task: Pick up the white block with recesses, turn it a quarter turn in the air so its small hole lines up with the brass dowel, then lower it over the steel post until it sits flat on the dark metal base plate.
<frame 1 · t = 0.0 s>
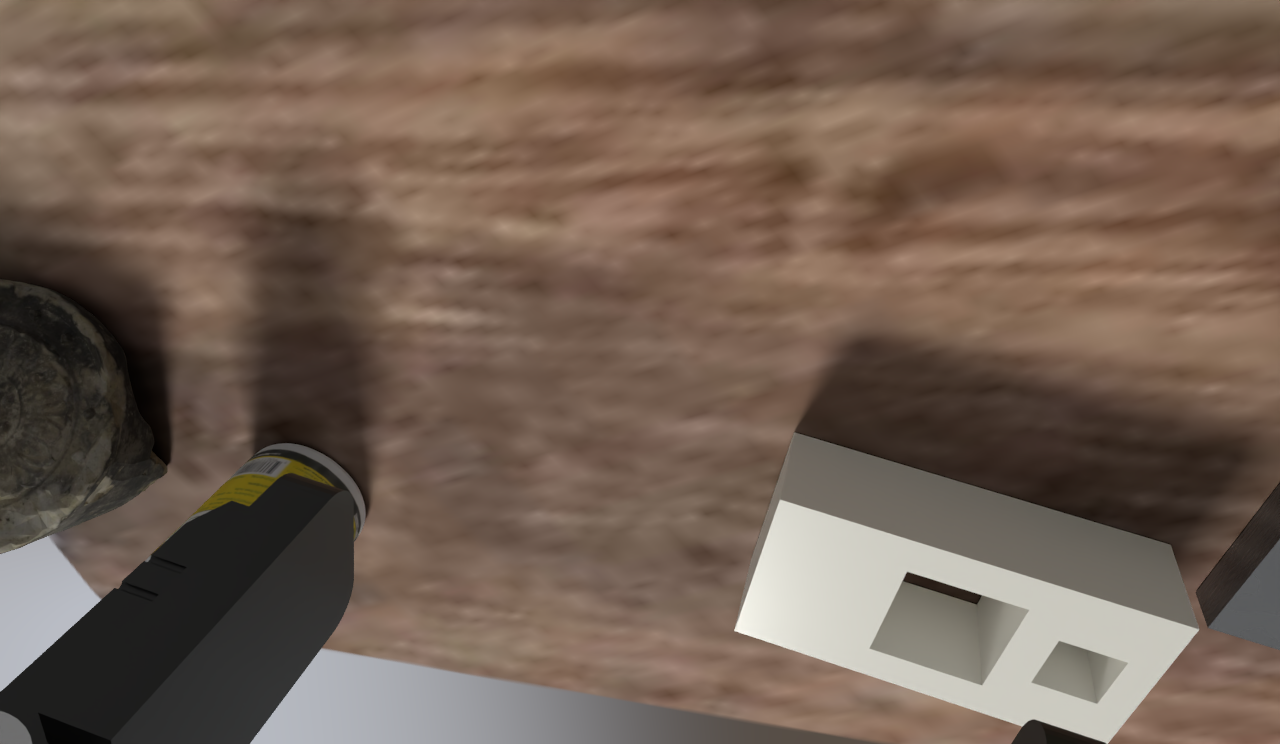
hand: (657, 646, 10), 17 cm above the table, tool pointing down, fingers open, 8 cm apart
supplement bottle: (315, 488, 37), on the table
fossil: (80, 373, 38), on the table
white block with recesses: (943, 552, 30), on the table
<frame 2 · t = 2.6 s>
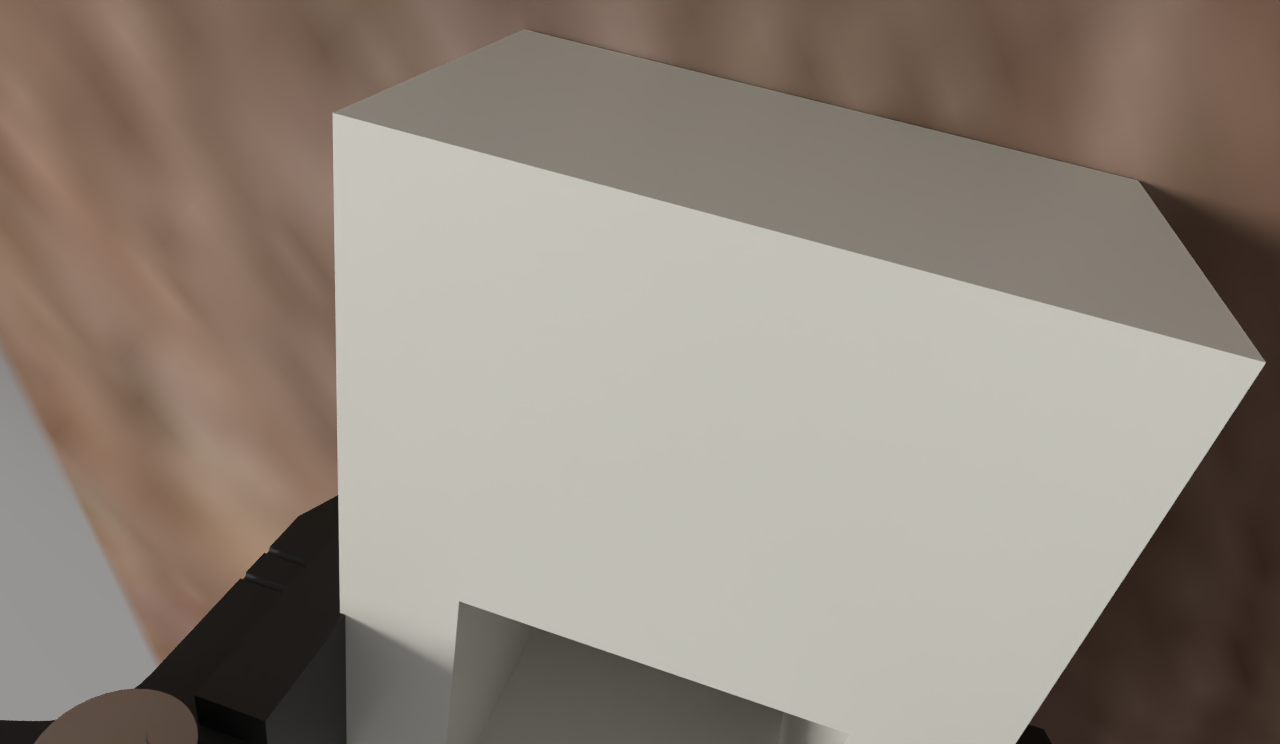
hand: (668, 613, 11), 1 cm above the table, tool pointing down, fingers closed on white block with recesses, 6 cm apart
white block with recesses: (690, 552, 12), on the table, touching gripper
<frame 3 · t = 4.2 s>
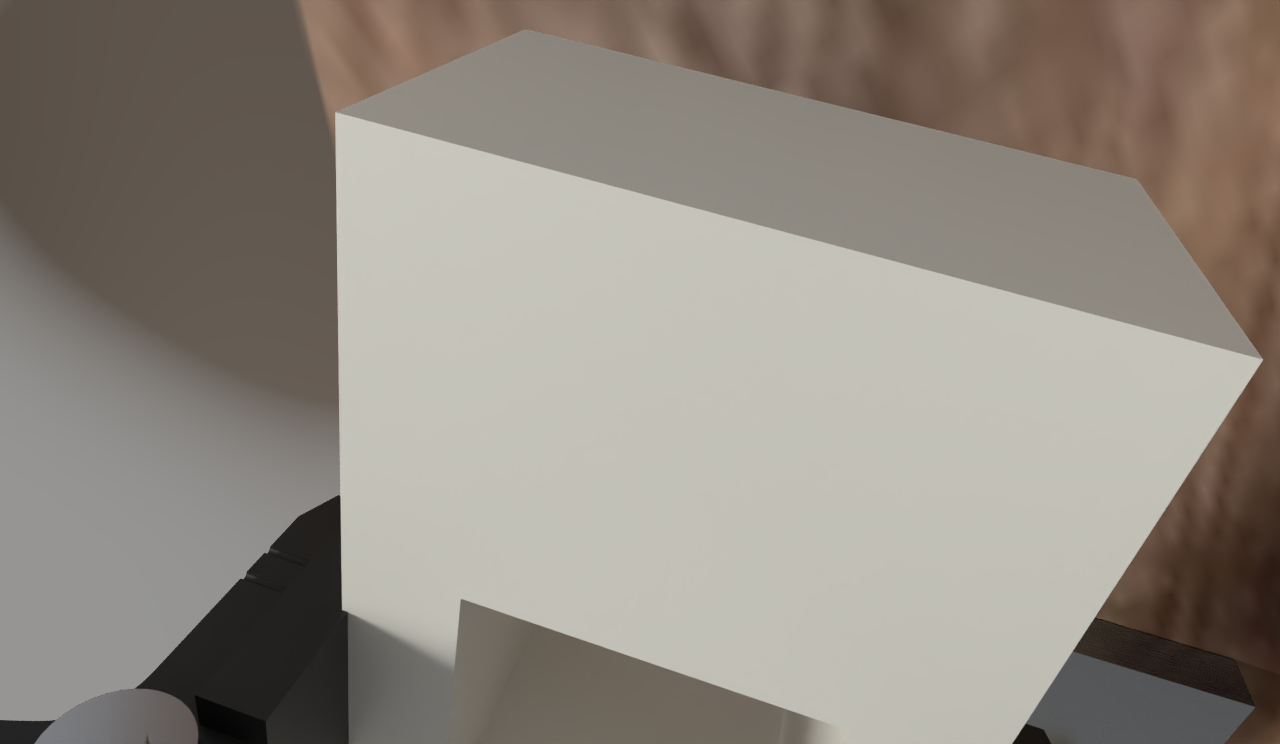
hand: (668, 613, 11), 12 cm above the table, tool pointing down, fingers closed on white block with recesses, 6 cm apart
base plate: (919, 703, 26), on the table
white block with recesses: (691, 550, 12), point 10 cm above the table, touching gripper
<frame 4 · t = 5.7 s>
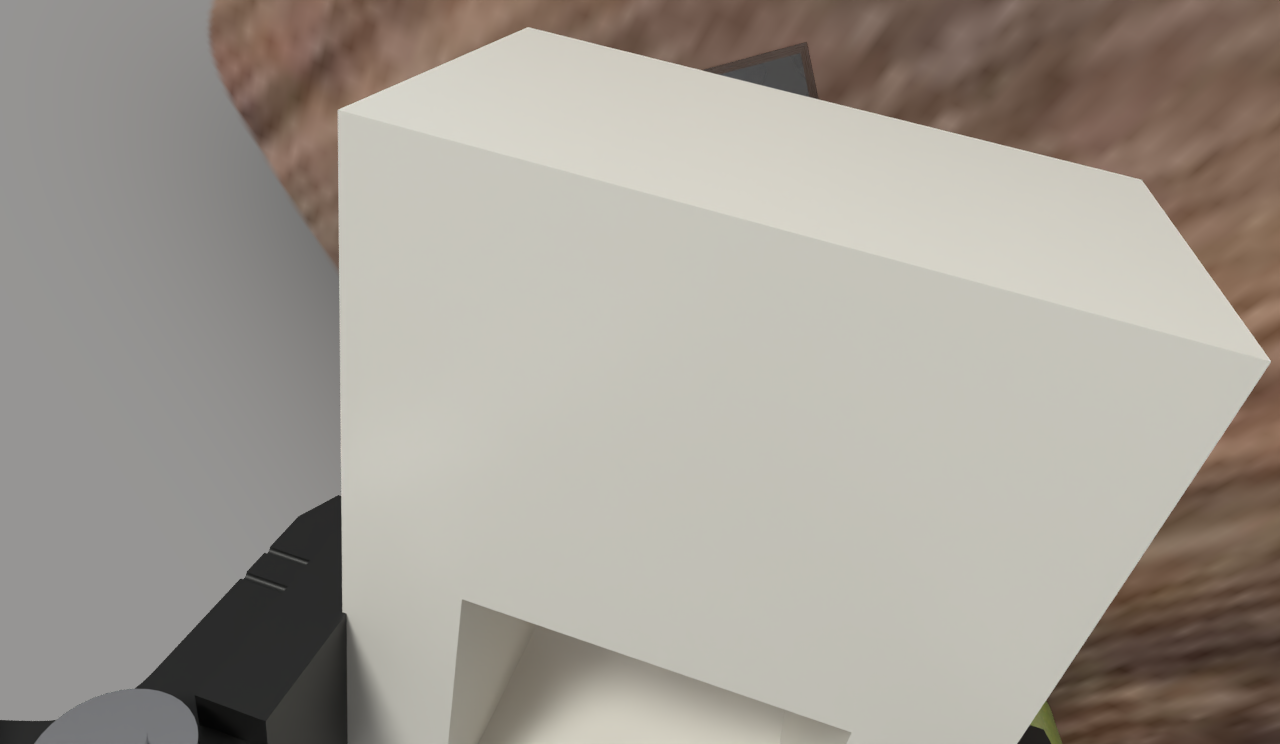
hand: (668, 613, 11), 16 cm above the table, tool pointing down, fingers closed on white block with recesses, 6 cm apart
base plate: (685, 309, 26), on the table
plant pot: (958, 709, 32), on the table
white block with recesses: (692, 551, 12), point 14 cm above the table, touching gripper
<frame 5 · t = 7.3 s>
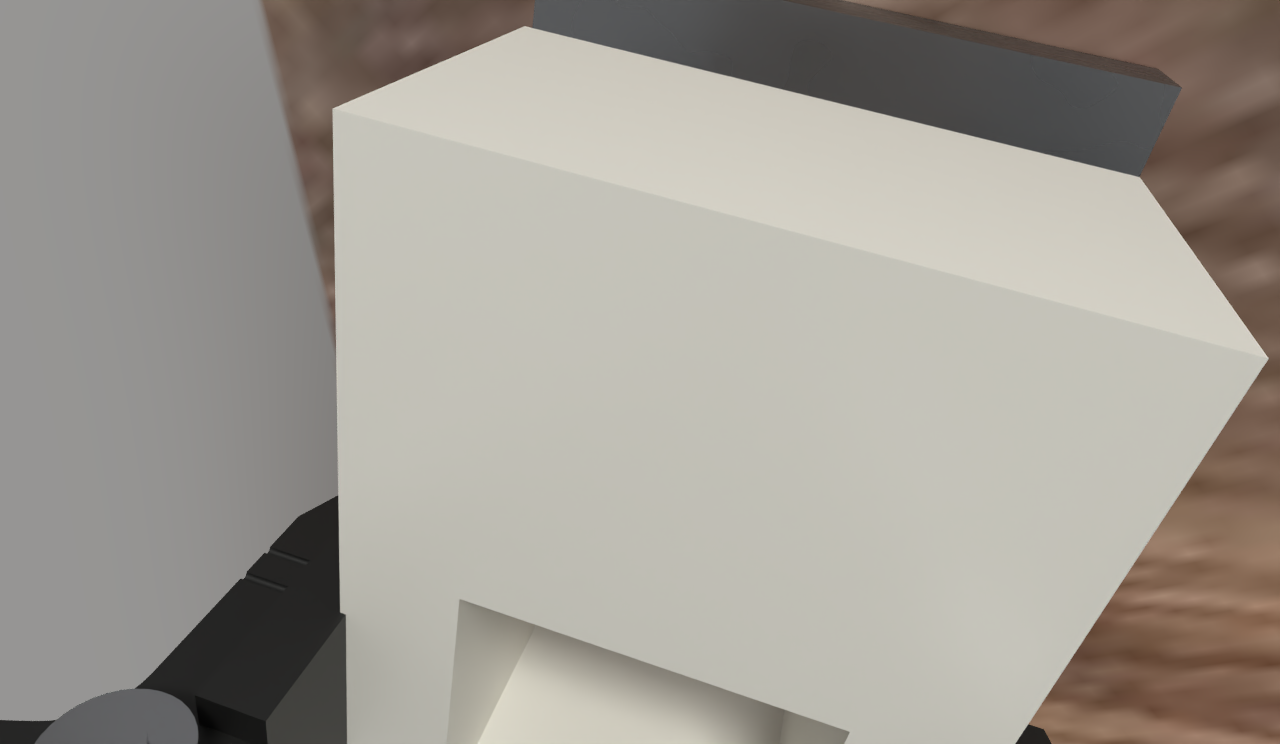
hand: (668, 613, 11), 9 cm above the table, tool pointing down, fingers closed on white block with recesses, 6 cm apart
base plate: (760, 334, 18), on the table
white block with recesses: (691, 550, 12), point 7 cm above the table, touching gripper
when the fingers open (4 cm above the table, at t = 8.9 s): white block with recesses stays where it is, resting on base plate.
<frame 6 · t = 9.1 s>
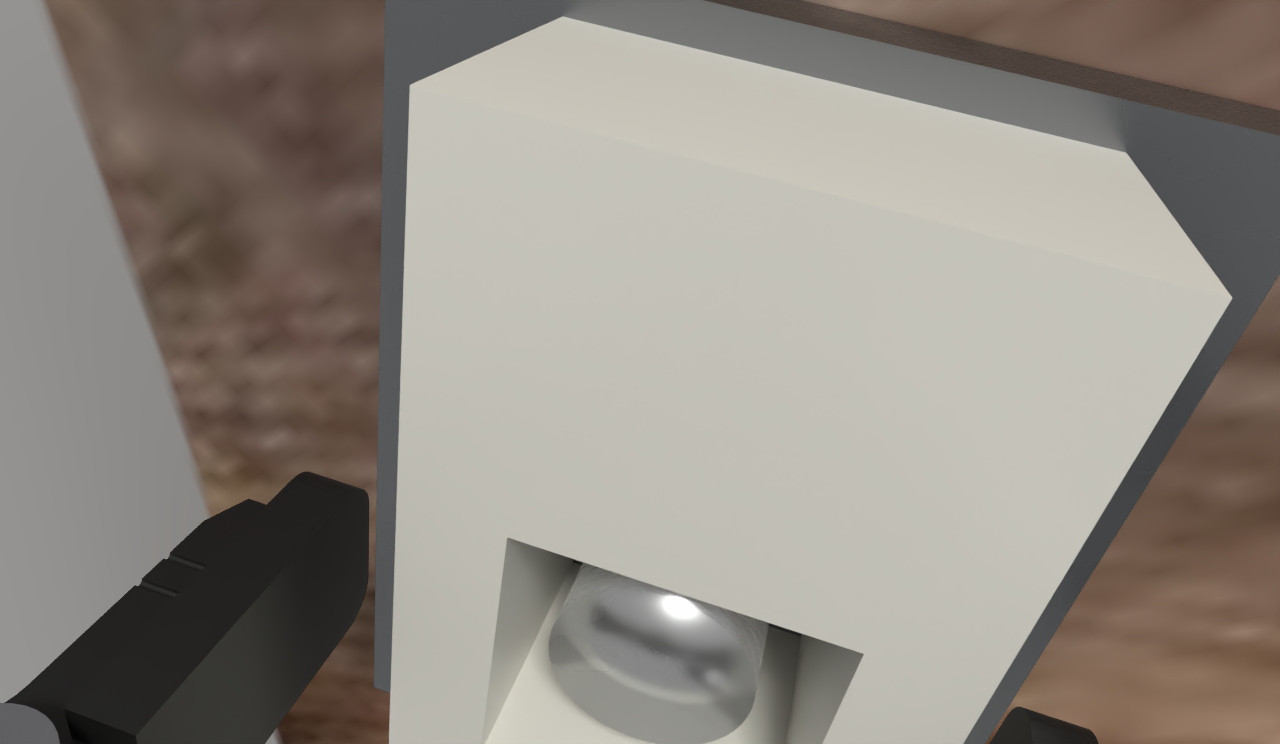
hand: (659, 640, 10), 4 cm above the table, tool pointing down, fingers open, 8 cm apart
base plate: (721, 449, 14), on the table
white block with recesses: (710, 510, 12), point 1 cm above the table, touching base plate
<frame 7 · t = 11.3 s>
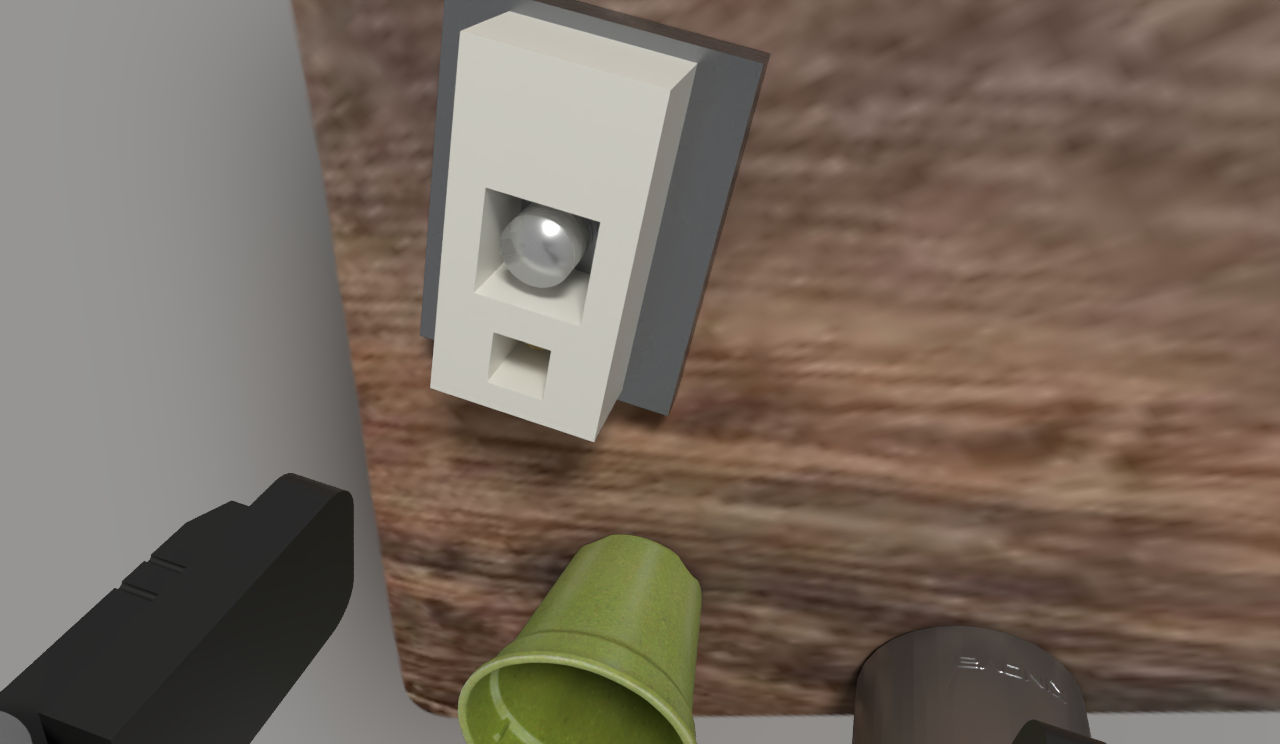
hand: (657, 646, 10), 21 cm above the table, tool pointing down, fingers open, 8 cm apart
base plate: (581, 203, 31), on the table
plant pot: (637, 582, 40), on the table
white block with recesses: (571, 218, 30), point 1 cm above the table, touching base plate
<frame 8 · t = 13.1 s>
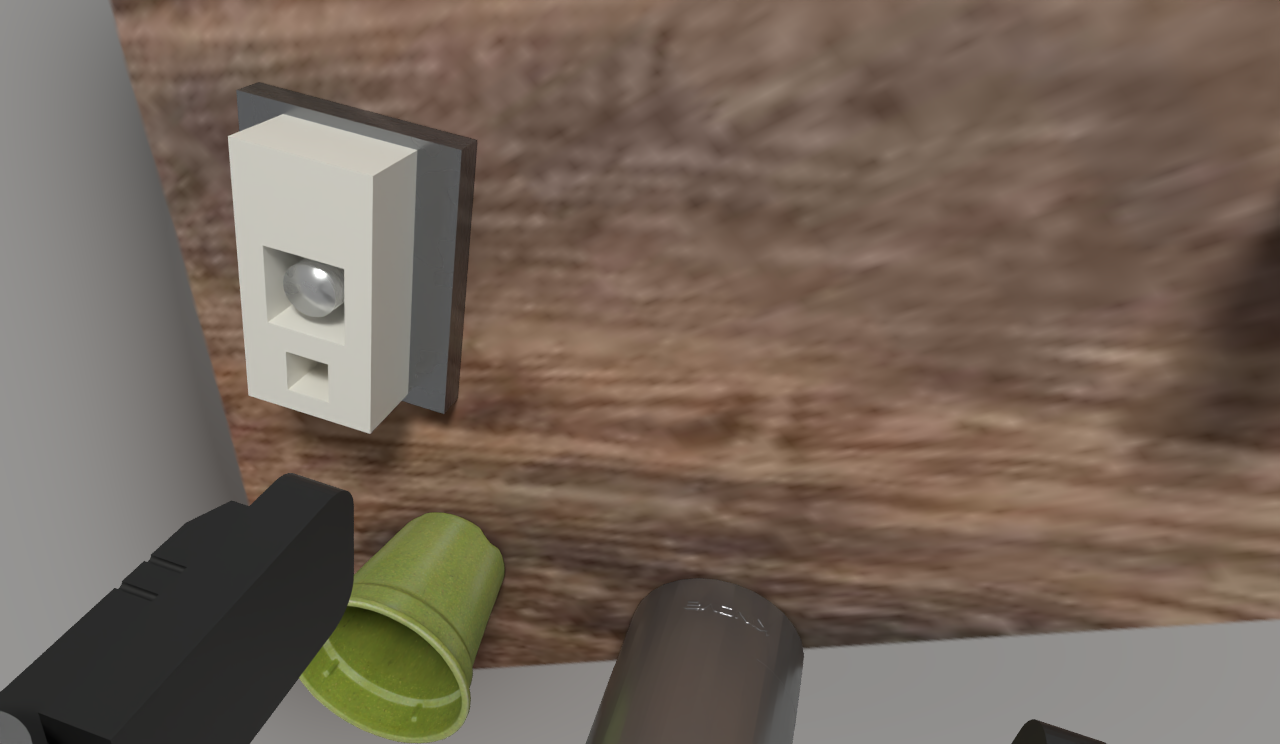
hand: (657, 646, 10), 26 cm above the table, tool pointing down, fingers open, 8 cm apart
base plate: (365, 251, 40), on the table
plant pot: (456, 552, 49), on the table
white block with recesses: (350, 263, 39), point 1 cm above the table, touching base plate
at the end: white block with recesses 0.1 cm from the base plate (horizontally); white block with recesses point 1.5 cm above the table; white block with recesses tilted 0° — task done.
